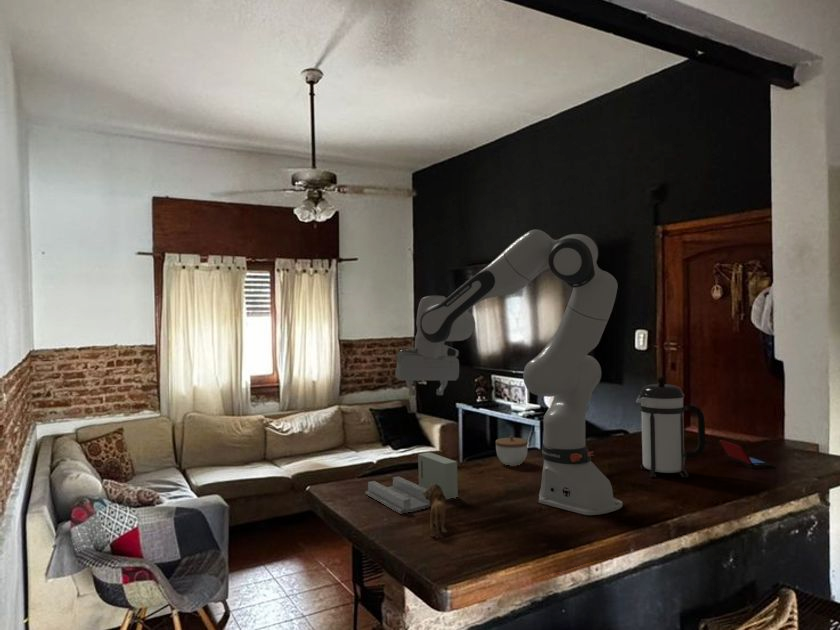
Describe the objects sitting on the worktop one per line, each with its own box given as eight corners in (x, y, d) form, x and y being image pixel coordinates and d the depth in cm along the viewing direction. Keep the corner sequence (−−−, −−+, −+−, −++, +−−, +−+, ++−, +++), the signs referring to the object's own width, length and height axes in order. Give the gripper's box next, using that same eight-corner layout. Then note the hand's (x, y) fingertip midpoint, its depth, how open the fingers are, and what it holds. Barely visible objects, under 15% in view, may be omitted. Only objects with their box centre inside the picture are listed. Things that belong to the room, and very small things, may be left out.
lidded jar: (509, 469, 188) (509, 440, 189) (489, 462, 198) (488, 435, 198) (534, 464, 194) (534, 436, 194) (514, 458, 203) (513, 431, 203)
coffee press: (676, 483, 169) (673, 380, 169) (628, 472, 182) (625, 376, 182) (707, 473, 179) (704, 376, 180) (659, 463, 192) (657, 372, 192)
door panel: (458, 497, 161) (457, 461, 161) (445, 500, 159) (444, 463, 159) (430, 485, 173) (429, 452, 173) (418, 488, 170) (417, 454, 170)
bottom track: (439, 505, 154) (439, 492, 154) (400, 514, 148) (400, 500, 148) (401, 487, 171) (401, 475, 171) (365, 495, 165) (364, 482, 165)
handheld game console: (774, 468, 184) (774, 445, 184) (741, 470, 183) (741, 446, 183) (749, 459, 196) (748, 437, 196) (718, 460, 196) (718, 438, 196)
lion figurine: (422, 518, 145) (422, 482, 145) (444, 517, 145) (443, 481, 145) (431, 540, 130) (430, 500, 130) (454, 539, 131) (453, 499, 131)
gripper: (402, 349, 167) (399, 397, 167) (463, 351, 176) (460, 396, 176) (393, 347, 172) (390, 393, 172) (452, 349, 182) (449, 393, 182)
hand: (426, 395), depth 175 cm, fingers open, 8 cm apart
